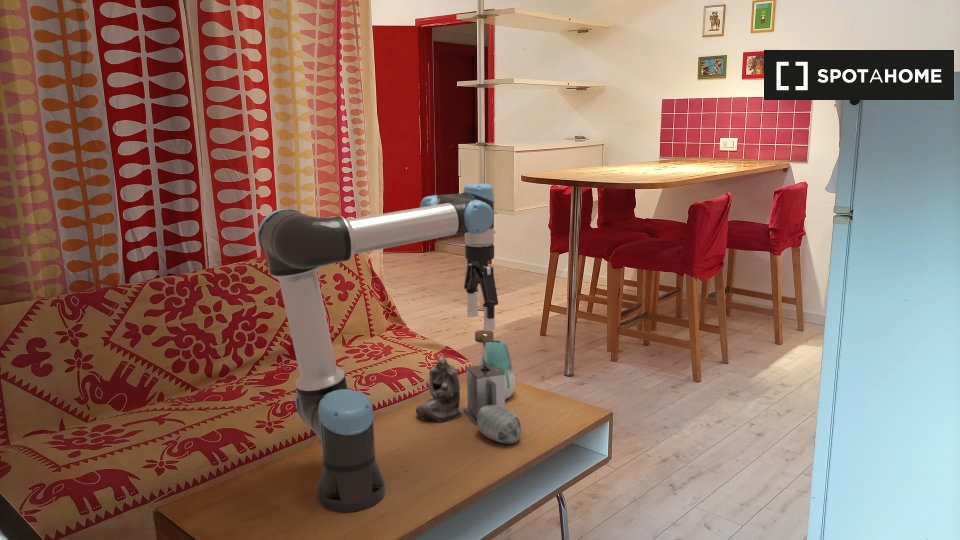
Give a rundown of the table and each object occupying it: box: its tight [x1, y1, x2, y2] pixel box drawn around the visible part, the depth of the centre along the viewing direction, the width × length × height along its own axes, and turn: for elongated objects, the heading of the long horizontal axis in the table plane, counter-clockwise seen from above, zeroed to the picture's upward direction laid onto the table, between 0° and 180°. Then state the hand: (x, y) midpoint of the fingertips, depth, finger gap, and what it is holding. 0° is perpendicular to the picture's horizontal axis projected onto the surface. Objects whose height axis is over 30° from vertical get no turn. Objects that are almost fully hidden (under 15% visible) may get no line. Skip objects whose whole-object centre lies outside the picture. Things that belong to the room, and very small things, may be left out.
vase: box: [479, 339, 516, 400], centre depth 217 cm, size 12×12×18 cm
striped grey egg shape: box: [477, 405, 522, 445], centre depth 191 cm, size 14×10×10 cm
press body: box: [463, 363, 506, 426], centre depth 203 cm, size 10×12×14 cm
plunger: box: [474, 329, 495, 372], centre depth 202 cm, size 6×6×13 cm
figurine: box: [415, 356, 463, 423], centre depth 205 cm, size 13×12×18 cm
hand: (480, 323), depth 191 cm, fingers open, 13 cm apart
